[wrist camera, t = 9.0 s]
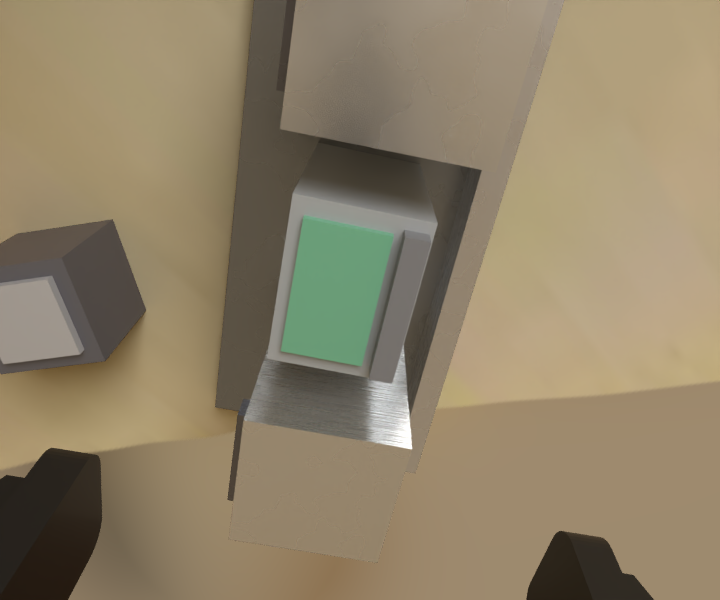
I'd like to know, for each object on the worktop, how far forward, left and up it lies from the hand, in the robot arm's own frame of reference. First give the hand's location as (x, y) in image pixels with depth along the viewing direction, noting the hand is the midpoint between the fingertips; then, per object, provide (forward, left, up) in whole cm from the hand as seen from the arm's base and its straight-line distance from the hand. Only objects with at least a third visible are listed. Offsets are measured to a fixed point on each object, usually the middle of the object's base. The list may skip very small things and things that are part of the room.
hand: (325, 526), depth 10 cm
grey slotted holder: (0, 0, -19) cm, 19 cm away
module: (0, 0, -17) cm, 17 cm away
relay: (+6, -13, -19) cm, 24 cm away
